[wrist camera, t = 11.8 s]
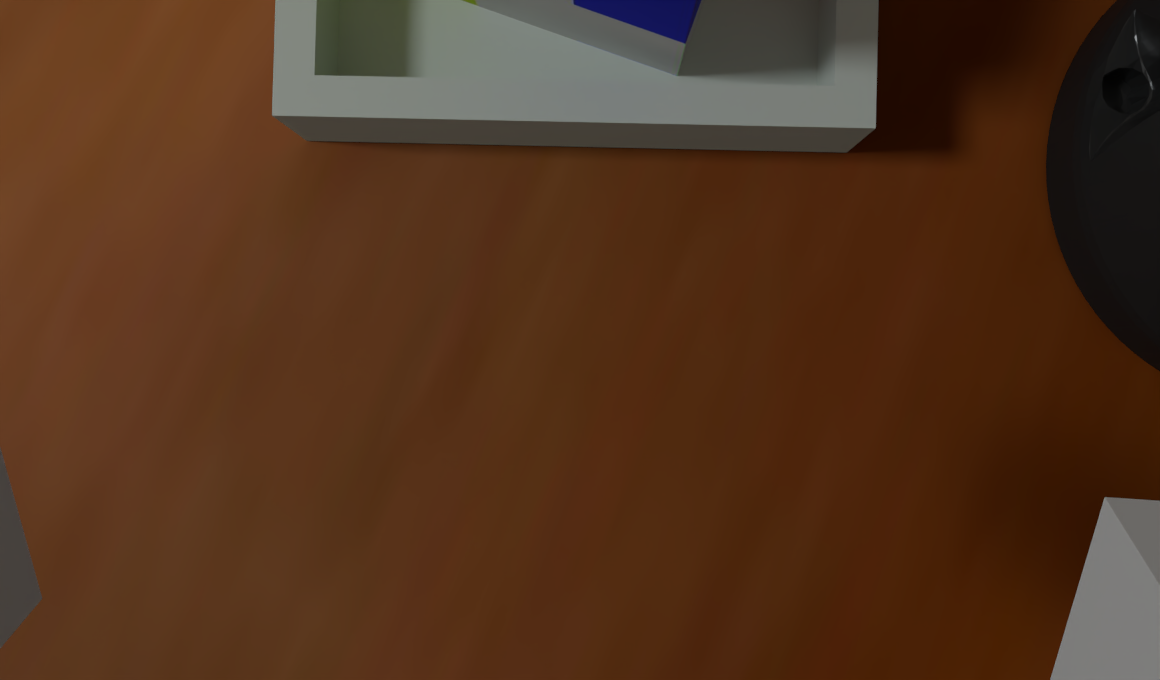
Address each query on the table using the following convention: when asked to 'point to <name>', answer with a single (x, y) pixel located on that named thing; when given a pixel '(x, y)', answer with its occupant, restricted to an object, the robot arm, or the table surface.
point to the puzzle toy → (614, 25)
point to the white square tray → (575, 78)
